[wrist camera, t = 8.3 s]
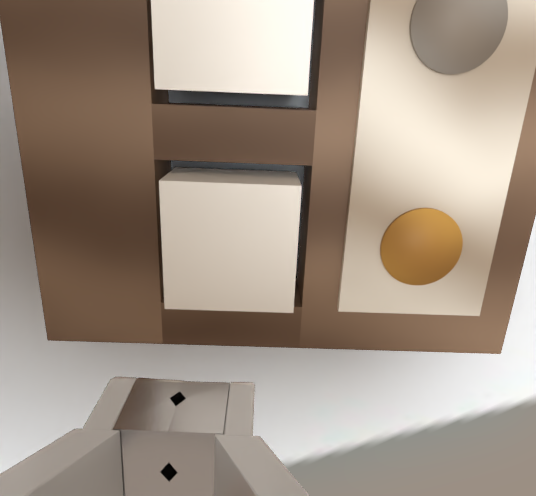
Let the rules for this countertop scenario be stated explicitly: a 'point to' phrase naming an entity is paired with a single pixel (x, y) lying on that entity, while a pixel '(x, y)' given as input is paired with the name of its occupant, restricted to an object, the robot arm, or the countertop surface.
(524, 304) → the countertop surface
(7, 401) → the countertop surface
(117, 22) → the button board
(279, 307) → the button
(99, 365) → the countertop surface
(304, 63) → the button middle
